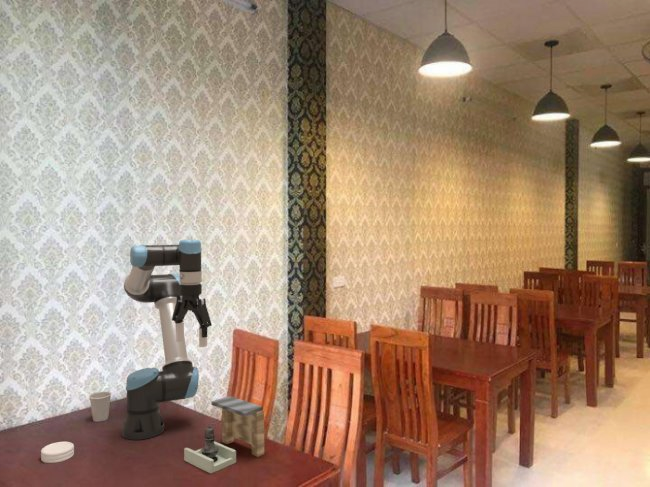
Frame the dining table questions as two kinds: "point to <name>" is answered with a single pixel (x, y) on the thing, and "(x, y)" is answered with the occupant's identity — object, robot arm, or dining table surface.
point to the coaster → (57, 452)
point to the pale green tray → (207, 464)
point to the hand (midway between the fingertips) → (191, 343)
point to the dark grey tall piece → (210, 444)
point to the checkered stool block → (242, 422)
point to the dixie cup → (100, 405)
